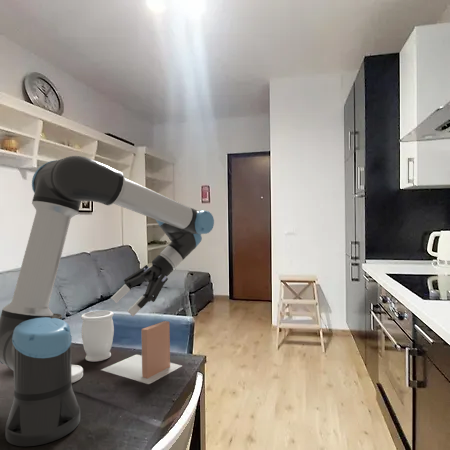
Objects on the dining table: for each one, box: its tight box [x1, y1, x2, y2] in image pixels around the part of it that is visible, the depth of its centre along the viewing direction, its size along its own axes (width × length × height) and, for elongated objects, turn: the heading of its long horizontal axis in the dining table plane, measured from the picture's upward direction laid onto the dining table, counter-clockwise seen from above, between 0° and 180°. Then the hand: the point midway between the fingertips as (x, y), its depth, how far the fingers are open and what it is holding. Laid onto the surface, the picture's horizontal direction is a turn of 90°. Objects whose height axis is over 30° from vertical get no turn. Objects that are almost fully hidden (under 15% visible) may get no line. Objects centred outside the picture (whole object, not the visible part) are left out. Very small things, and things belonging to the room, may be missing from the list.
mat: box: [100, 354, 183, 385], centre depth 113 cm, size 20×15×1 cm
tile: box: [140, 320, 171, 379], centre depth 110 cm, size 2×10×14 cm, turn 148°
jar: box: [81, 310, 115, 363], centre depth 125 cm, size 11×10×15 cm
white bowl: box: [71, 364, 84, 384], centre depth 106 cm, size 10×10×4 cm
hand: (121, 307), depth 120 cm, fingers open, 13 cm apart
